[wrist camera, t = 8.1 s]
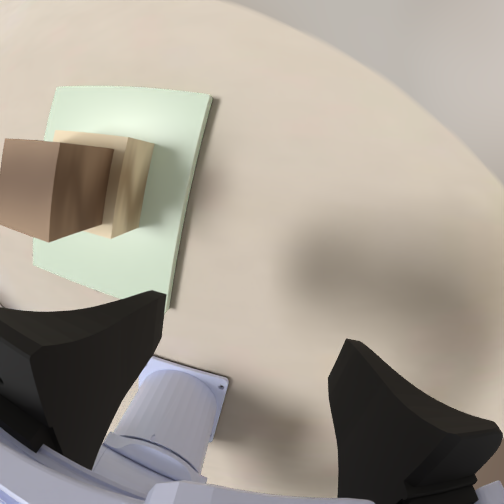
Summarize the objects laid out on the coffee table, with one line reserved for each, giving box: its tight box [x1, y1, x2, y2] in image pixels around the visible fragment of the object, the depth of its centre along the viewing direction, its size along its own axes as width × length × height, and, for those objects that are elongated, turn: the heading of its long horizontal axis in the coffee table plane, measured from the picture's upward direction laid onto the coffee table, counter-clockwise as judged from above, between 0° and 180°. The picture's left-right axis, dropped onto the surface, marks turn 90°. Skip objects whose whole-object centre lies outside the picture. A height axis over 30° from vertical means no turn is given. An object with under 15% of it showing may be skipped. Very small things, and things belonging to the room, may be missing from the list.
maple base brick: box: [53, 130, 155, 239], centre depth 17 cm, size 6×6×4 cm
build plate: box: [33, 86, 213, 313], centre depth 20 cm, size 16×14×1 cm
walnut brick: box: [0, 139, 114, 243], centre depth 13 cm, size 4×4×5 cm
